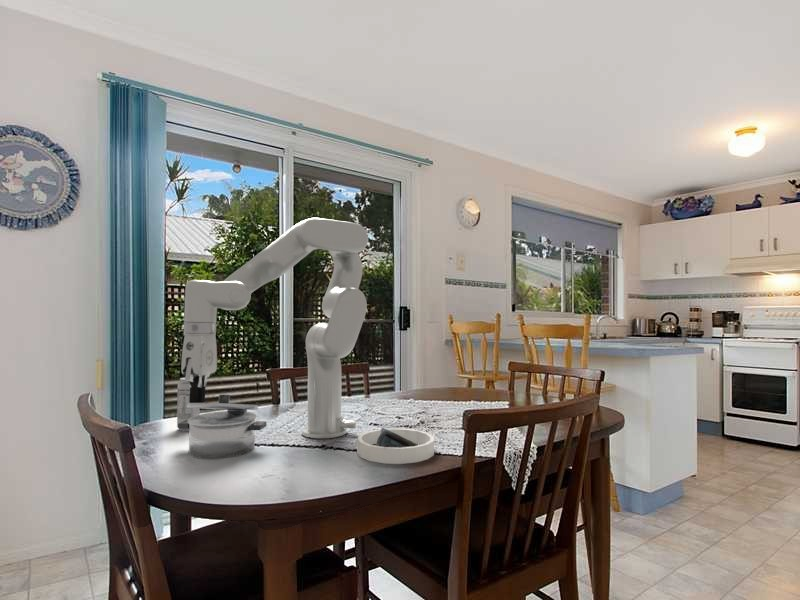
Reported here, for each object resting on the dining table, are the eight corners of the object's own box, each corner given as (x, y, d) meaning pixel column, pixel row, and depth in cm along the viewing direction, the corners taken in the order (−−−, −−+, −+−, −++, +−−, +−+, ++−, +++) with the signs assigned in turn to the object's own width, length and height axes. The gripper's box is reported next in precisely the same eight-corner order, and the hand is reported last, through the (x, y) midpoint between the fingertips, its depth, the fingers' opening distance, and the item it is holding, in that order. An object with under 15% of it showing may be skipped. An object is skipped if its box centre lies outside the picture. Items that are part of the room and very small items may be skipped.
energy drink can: (203, 427, 148) (204, 377, 148) (188, 432, 143) (188, 380, 143) (188, 426, 150) (188, 376, 151) (172, 430, 145) (172, 379, 145)
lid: (267, 412, 135) (269, 397, 136) (242, 410, 117) (244, 393, 118) (207, 411, 136) (209, 396, 137) (173, 408, 119) (175, 392, 120)
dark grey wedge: (422, 452, 126) (388, 418, 127) (428, 452, 119) (392, 416, 120) (396, 482, 123) (362, 447, 124) (401, 483, 116) (365, 446, 117)
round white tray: (434, 442, 133) (434, 429, 133) (433, 464, 114) (433, 449, 114) (364, 440, 135) (364, 427, 135) (351, 462, 116) (351, 447, 116)
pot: (275, 440, 135) (276, 410, 135) (250, 460, 117) (251, 426, 117) (200, 438, 137) (200, 409, 137) (164, 457, 119) (164, 424, 119)
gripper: (200, 330, 117) (197, 409, 117) (227, 329, 132) (224, 398, 131) (169, 329, 118) (166, 407, 117) (199, 328, 133) (197, 397, 132)
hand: (197, 402), depth 124 cm, fingers closed
